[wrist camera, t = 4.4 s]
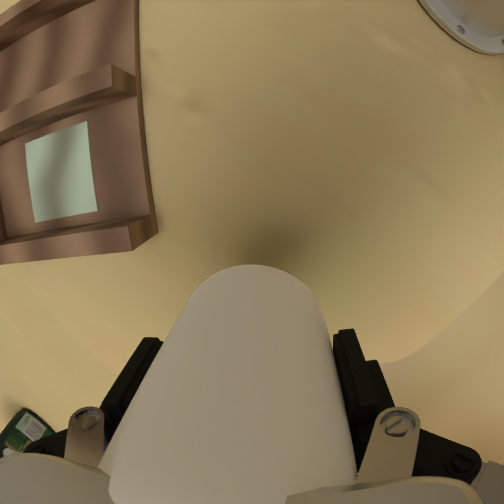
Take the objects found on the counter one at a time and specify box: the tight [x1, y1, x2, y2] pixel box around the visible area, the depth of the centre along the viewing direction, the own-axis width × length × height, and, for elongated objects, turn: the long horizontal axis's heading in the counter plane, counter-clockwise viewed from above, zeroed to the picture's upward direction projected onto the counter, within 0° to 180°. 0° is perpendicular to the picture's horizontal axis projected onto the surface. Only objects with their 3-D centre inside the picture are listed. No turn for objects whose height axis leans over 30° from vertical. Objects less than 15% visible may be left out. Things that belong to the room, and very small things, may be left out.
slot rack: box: [0, 0, 158, 265], centre depth 19 cm, size 18×23×5 cm
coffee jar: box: [0, 410, 53, 458], centre depth 25 cm, size 10×8×19 cm
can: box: [97, 265, 358, 504], centre depth 9 cm, size 6×6×12 cm
